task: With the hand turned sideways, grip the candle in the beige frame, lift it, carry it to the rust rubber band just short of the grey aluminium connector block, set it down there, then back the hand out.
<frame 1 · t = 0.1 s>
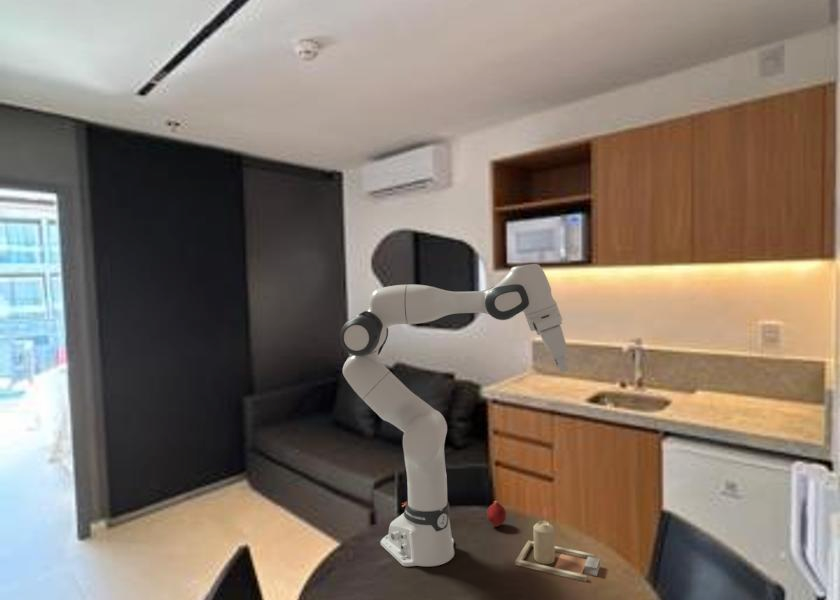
hand: (562, 368, 136), 52 cm above the table, tool tilted 20°, fingers open, 8 cm apart
candle: (544, 559, 138), resting in beige frame
beige frame: (557, 561, 136), on the table
onion: (496, 526, 157), on the table
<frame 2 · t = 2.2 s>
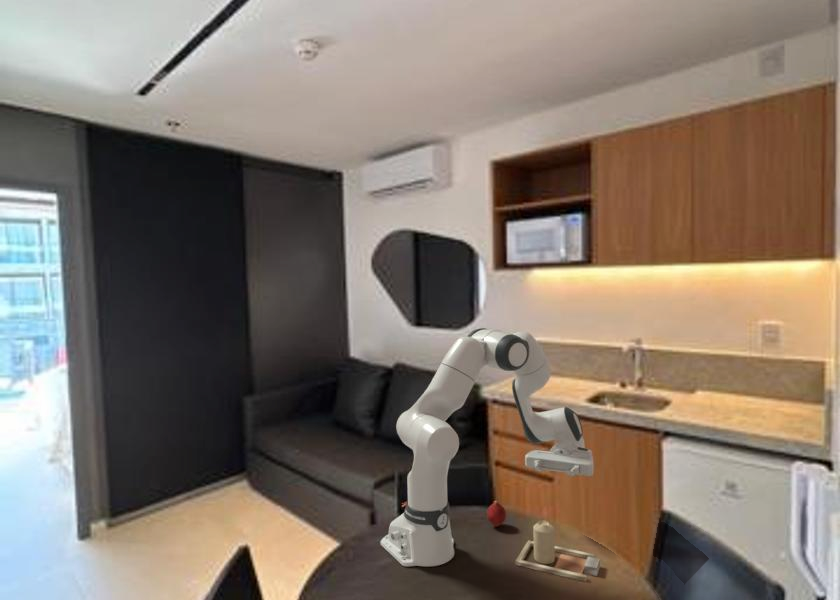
hand: (553, 471, 148), 20 cm above the table, tool horizontal, fingers open, 8 cm apart
nothing on the table moved.
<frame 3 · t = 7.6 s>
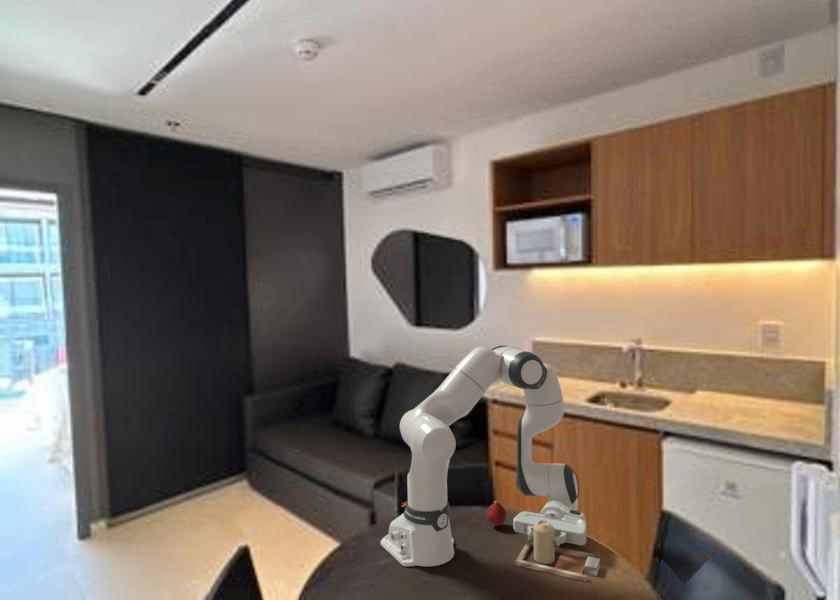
hand: (543, 540, 137), 6 cm above the table, tool horizontal, fingers closed on candle, 5 cm apart
candle: (544, 559, 138), resting in beige frame, touching gripper
everything else where it was.
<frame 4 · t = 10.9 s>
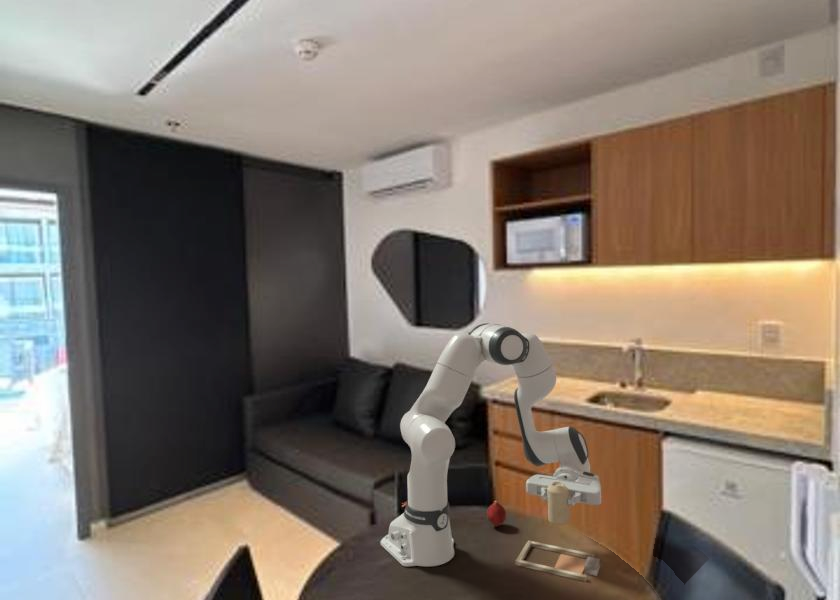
hand: (557, 500, 135), 17 cm above the table, tool horizontal, fingers closed on candle, 5 cm apart
candle: (558, 521, 136), point 11 cm above the table, touching gripper
everything else where it was.
when the fingers open (7 cm above the table, at t = 14.7 s): candle drops 1 cm, resting on beige frame.
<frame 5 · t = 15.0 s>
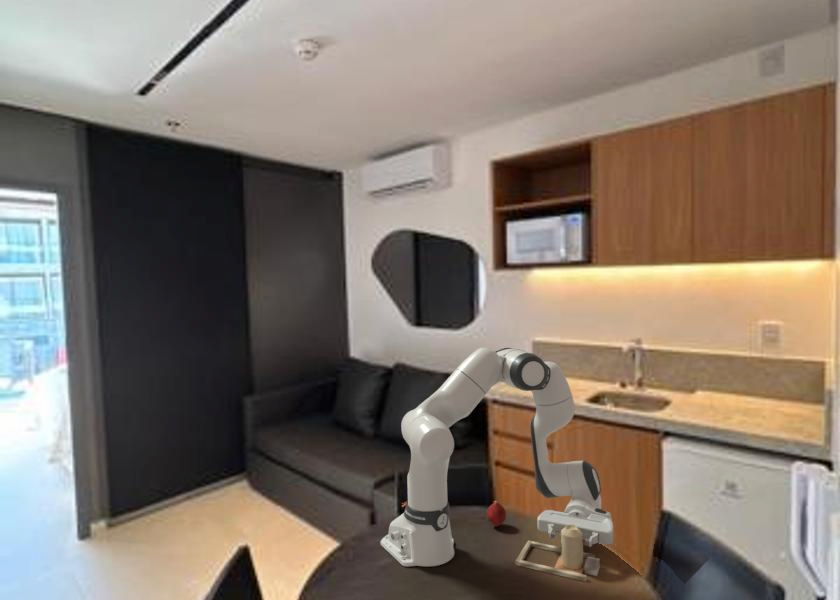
hand: (569, 539, 133), 7 cm above the table, tool horizontal, fingers open, 8 cm apart
candle: (572, 565, 134), resting on beige frame
everything else where it was.
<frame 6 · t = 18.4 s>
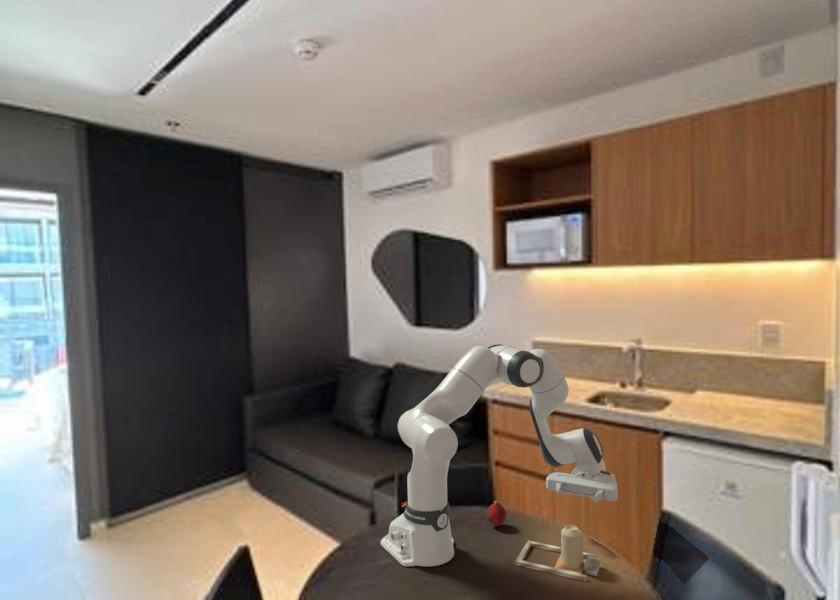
hand: (576, 495, 144), 14 cm above the table, tool horizontal, fingers open, 8 cm apart
nothing on the table moved.
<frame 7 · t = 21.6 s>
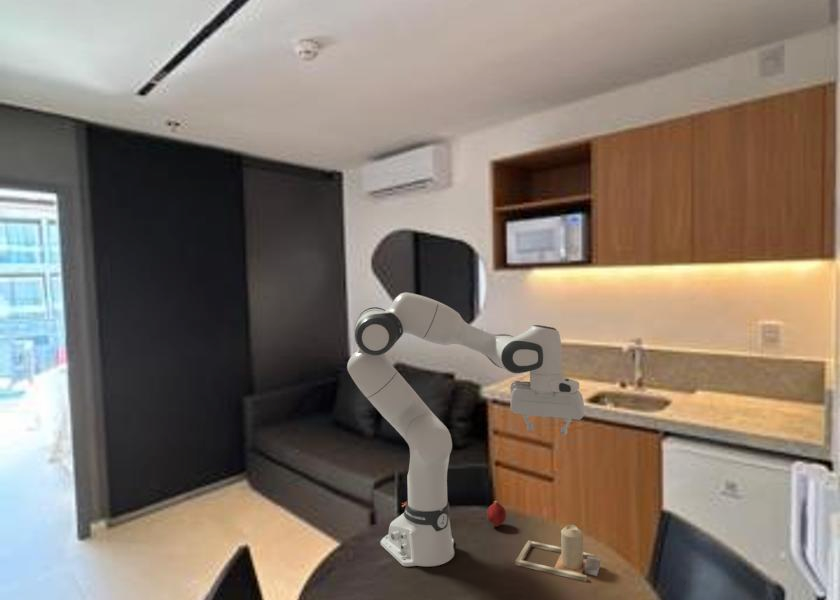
hand: (546, 431, 142), 33 cm above the table, tool pointing down, fingers open, 8 cm apart
nothing on the table moved.
at the end: candle 0.4 cm from the target spot, resting on beige frame; candle tilted 0°; the gripper is holding nothing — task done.
